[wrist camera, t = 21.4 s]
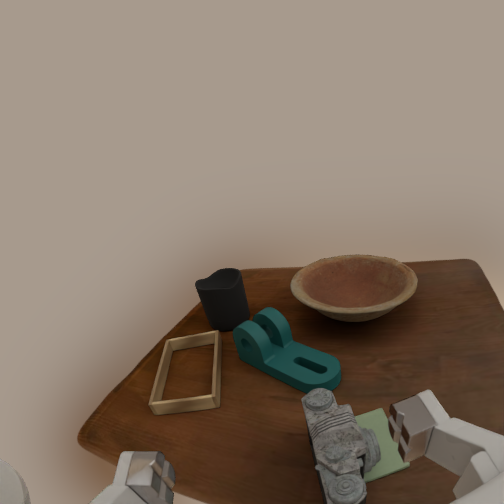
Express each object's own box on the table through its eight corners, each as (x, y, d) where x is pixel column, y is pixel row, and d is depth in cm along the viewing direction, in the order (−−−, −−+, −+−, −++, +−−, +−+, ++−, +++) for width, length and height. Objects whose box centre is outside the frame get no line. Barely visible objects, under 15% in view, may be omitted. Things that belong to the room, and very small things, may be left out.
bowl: (419, 348, 44) (422, 306, 41) (281, 347, 54) (272, 309, 52) (413, 279, 64) (413, 245, 61) (312, 283, 74) (307, 252, 71)
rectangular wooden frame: (154, 415, 43) (148, 404, 43) (170, 349, 61) (166, 339, 60) (220, 407, 43) (215, 396, 42) (222, 340, 60) (218, 329, 60)
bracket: (240, 359, 54) (228, 322, 51) (267, 339, 58) (258, 303, 55) (322, 401, 40) (316, 360, 38) (349, 372, 44) (346, 331, 41)
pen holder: (251, 329, 62) (239, 284, 59) (205, 335, 63) (190, 293, 60) (252, 305, 71) (242, 264, 68) (212, 312, 72) (199, 273, 69)
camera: (395, 516, 20) (410, 475, 17) (329, 536, 21) (325, 503, 17) (357, 421, 34) (356, 365, 31) (305, 435, 35) (294, 382, 31)
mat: (323, 494, 26) (323, 492, 26) (308, 432, 36) (307, 429, 35) (409, 466, 26) (410, 464, 26) (381, 410, 35) (381, 407, 35)
